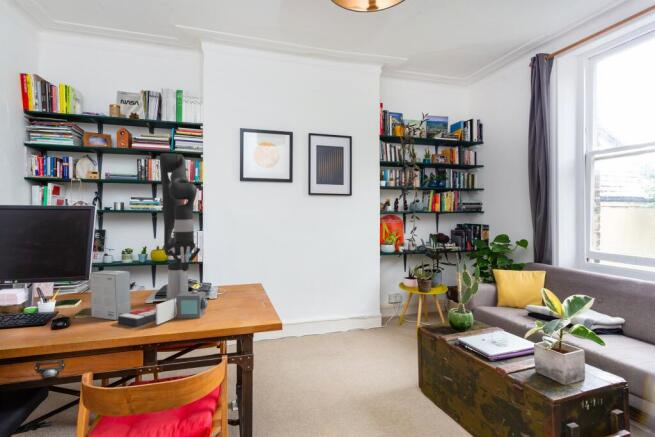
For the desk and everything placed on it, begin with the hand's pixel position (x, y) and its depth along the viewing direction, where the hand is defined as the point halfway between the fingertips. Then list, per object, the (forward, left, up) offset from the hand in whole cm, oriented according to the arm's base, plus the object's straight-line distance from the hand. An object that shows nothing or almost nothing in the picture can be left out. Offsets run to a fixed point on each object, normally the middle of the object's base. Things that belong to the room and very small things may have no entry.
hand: (184, 270), depth 143 cm
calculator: (-19, -3, -23) cm, 30 cm away
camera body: (-2, +7, -22) cm, 23 cm away
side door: (-7, -4, -21) cm, 22 cm away
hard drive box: (-37, -1, -22) cm, 43 cm away
